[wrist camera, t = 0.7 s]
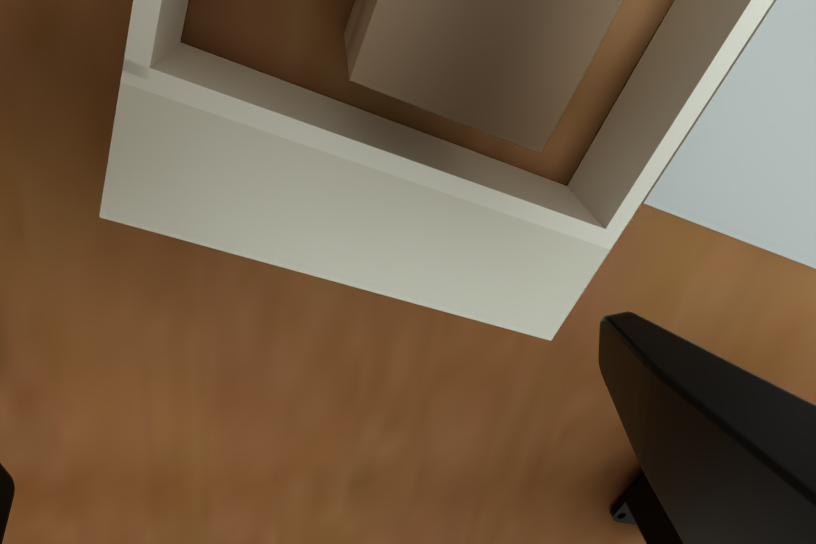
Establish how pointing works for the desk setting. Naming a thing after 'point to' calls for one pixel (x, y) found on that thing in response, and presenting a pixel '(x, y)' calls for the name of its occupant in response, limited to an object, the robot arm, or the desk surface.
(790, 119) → the mat
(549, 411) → the desk surface
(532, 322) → the white shallow rectangular tray
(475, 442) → the desk surface
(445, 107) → the box
